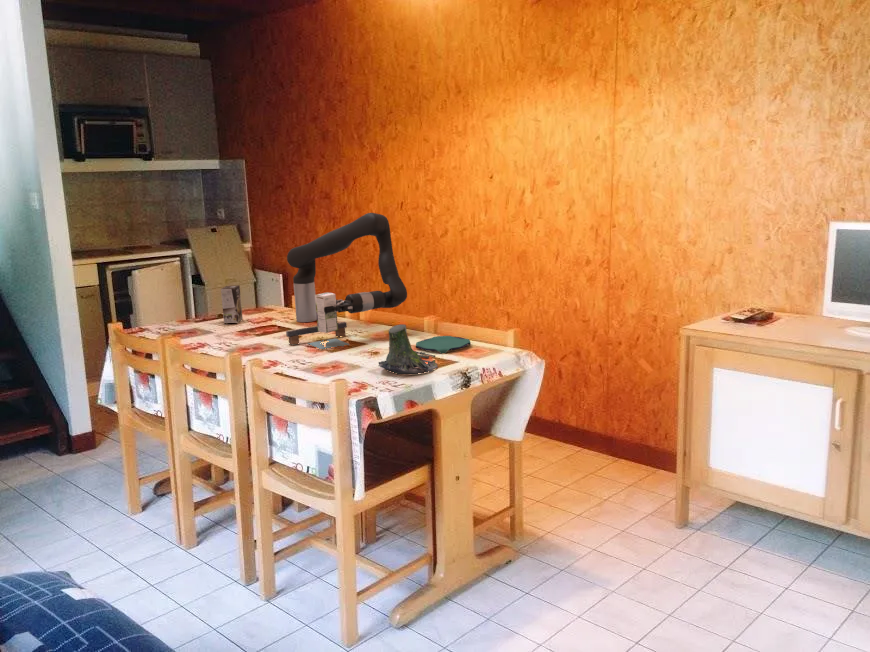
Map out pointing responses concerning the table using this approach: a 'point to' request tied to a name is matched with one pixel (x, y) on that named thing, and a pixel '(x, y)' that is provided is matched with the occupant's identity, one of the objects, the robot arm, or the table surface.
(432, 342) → the teal irregular flat slab
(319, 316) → the syrup box
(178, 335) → the table surface
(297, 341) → the bar stand
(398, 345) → the tree stump
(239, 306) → the coffee box
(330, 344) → the slate mat
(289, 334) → the crossbar
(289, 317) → the table surface
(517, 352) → the table surface
